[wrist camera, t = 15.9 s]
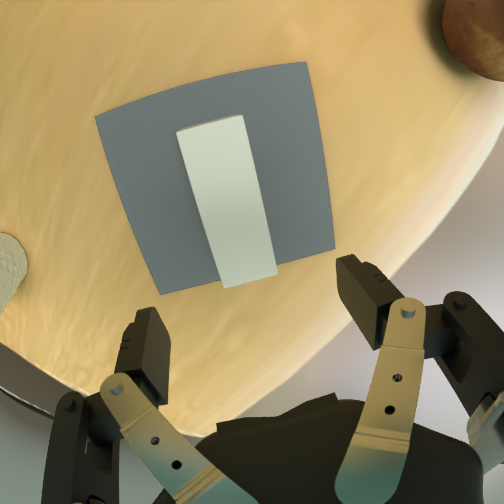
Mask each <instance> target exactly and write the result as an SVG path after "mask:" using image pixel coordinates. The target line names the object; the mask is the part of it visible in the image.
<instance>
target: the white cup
mask: <svg viewBox="0 0 504 504" xmlns="http://www.w3.org/2000/svg"><path fill="white" fill-rule="evenodd" d="M27 267H28V261H27V258H26V254H25V251H24V249H23V248H22V246H21V245H20V243H19V242H18V241H17V240H16V239H15V238H14V237H12V236H11V235H10V234H6V233H1V232H0V316H1V314H2V312H3V311H4V309H5V308H6V306H7V304H8V303H9V301H10V300H11V298H12V297H13V295H14V293H15V292H16V290H17V288H18V286H19V284H20V283H21V281H22V280H23V278H24V277H25V275H26V274H27Z"/></svg>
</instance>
